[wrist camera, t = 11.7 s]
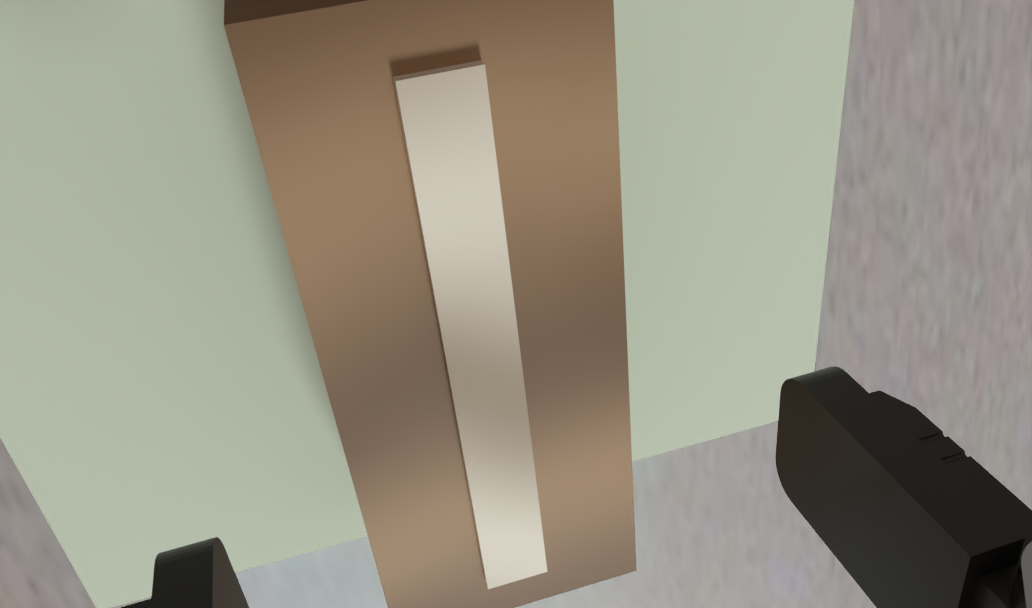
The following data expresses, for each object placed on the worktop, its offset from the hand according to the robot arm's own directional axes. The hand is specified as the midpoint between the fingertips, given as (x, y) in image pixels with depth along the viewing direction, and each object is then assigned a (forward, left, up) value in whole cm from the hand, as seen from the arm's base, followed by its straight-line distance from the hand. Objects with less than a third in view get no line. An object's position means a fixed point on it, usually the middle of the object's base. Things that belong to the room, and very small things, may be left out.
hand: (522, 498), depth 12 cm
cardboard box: (0, 0, -7) cm, 7 cm away
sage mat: (0, 0, -7) cm, 7 cm away
